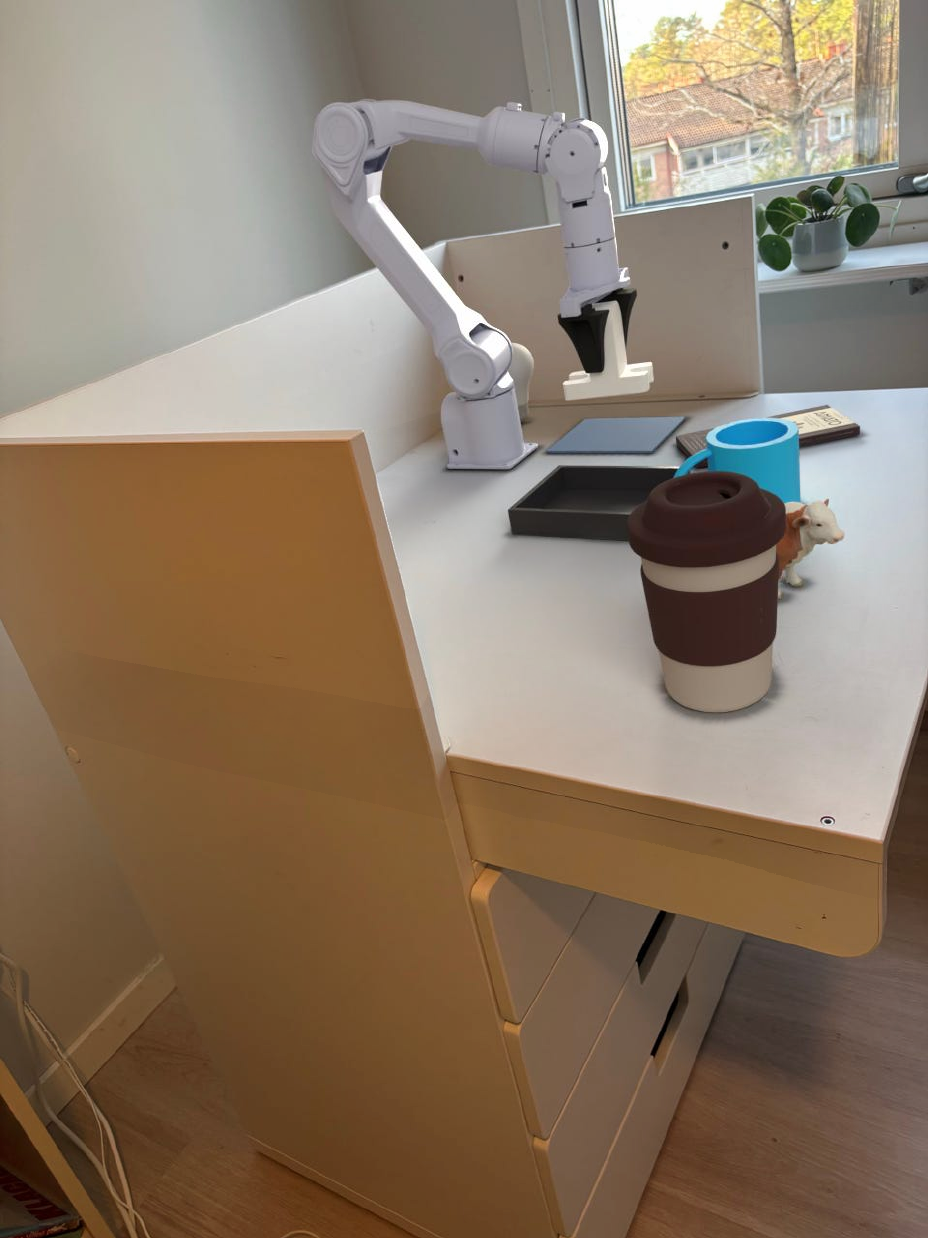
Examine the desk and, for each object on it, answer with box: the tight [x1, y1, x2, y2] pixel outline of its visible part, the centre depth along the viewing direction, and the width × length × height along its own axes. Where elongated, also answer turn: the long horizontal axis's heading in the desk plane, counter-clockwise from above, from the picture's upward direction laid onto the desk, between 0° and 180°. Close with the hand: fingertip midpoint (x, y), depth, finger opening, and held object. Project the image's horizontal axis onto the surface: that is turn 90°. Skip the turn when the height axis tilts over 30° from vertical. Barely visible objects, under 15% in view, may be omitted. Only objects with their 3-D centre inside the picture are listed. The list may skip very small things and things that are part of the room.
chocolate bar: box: [675, 404, 861, 469], centre depth 106 cm, size 9×1×18 cm
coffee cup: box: [627, 471, 786, 713], centre depth 62 cm, size 10×10×15 cm
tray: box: [507, 464, 692, 542], centre depth 96 cm, size 15×12×3 cm
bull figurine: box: [776, 498, 845, 601], centre depth 74 cm, size 4×13×8 cm, turn 63°
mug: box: [673, 417, 802, 504], centre depth 87 cm, size 12×8×8 cm
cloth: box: [545, 416, 687, 454], centre depth 117 cm, size 14×12×1 cm
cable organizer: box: [562, 301, 655, 401], centre depth 108 cm, size 5×10×10 cm, turn 71°
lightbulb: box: [508, 342, 535, 423], centre depth 128 cm, size 6×6×11 cm
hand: (605, 363), depth 109 cm, fingers closed on cable organizer, 6 cm apart
